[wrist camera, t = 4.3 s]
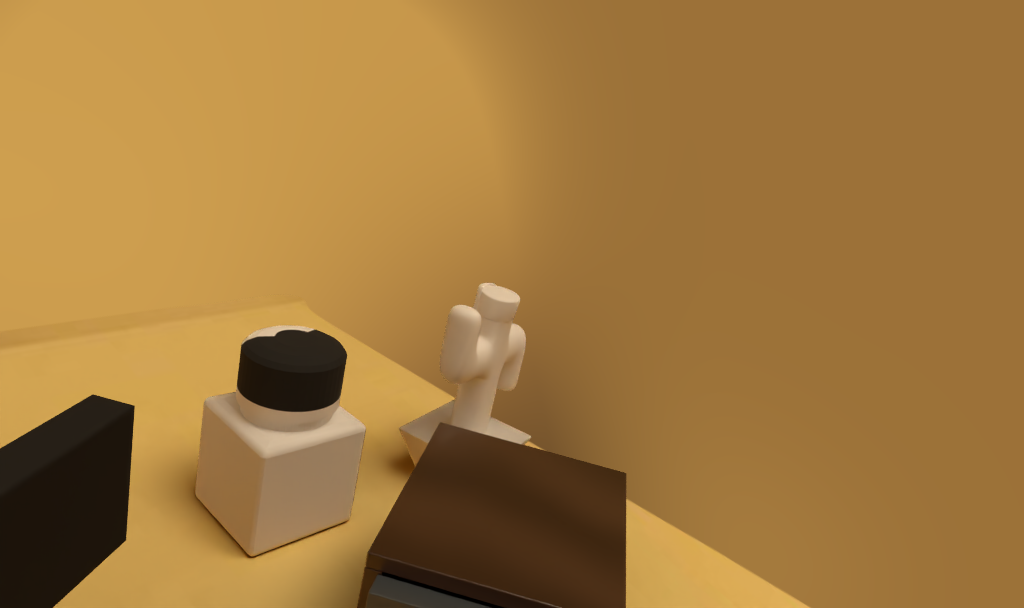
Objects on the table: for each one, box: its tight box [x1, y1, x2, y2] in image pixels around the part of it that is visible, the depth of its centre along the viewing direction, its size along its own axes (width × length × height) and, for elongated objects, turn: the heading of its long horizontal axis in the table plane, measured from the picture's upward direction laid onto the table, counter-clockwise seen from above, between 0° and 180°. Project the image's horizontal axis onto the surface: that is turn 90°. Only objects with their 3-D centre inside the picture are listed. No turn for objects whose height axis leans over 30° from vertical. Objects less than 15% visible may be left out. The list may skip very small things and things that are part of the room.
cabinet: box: [357, 422, 626, 608], centre depth 38 cm, size 13×11×10 cm
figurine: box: [399, 283, 532, 466], centre depth 53 cm, size 7×9×15 cm
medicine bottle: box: [195, 325, 366, 556], centre depth 45 cm, size 7×7×12 cm
